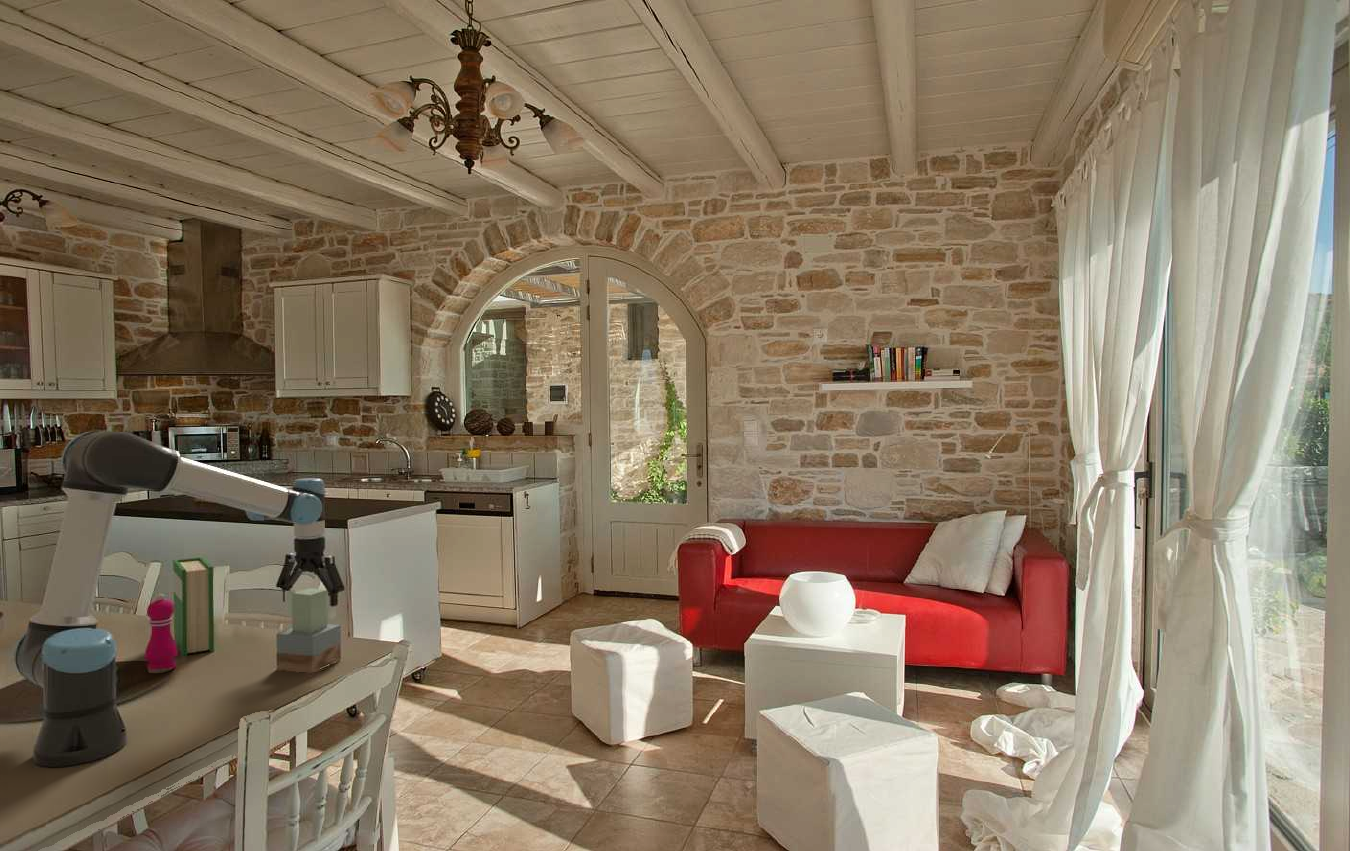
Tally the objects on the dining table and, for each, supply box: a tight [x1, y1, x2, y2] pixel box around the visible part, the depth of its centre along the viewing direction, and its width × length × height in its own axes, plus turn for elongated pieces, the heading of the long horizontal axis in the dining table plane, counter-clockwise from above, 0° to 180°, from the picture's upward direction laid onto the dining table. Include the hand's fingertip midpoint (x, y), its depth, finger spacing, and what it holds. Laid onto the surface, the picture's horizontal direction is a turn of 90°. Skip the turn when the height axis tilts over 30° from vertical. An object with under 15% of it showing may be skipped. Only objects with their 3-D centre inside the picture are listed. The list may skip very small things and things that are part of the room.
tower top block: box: [276, 623, 342, 656], centre depth 212 cm, size 11×11×5 cm
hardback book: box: [172, 556, 215, 658], centre depth 228 cm, size 18×7×24 cm, turn 39°
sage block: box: [291, 587, 328, 633], centre depth 213 cm, size 6×6×10 cm
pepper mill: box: [144, 593, 179, 669], centre depth 208 cm, size 7×7×20 cm
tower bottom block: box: [276, 643, 342, 674], centre depth 213 cm, size 11×11×5 cm
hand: (310, 616), depth 213 cm, fingers open, 13 cm apart
